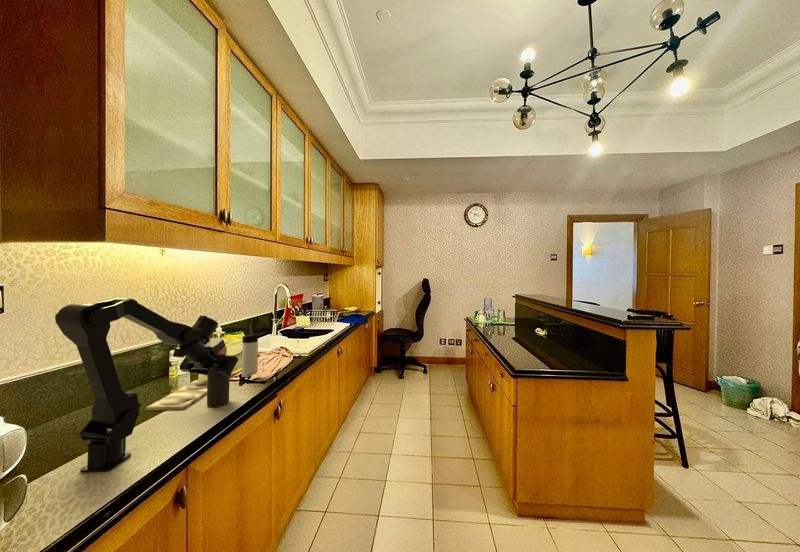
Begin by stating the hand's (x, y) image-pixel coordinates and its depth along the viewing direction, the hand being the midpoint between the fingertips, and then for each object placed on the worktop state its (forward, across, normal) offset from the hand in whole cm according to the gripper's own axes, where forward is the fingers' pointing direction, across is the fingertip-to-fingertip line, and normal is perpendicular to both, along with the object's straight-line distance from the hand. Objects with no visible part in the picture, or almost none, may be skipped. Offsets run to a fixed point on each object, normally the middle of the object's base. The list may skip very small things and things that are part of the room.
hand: (221, 375), depth 107 cm
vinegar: (+6, 0, +8) cm, 10 cm away
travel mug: (+24, +6, -10) cm, 27 cm away
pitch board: (+10, +17, +4) cm, 20 cm away
